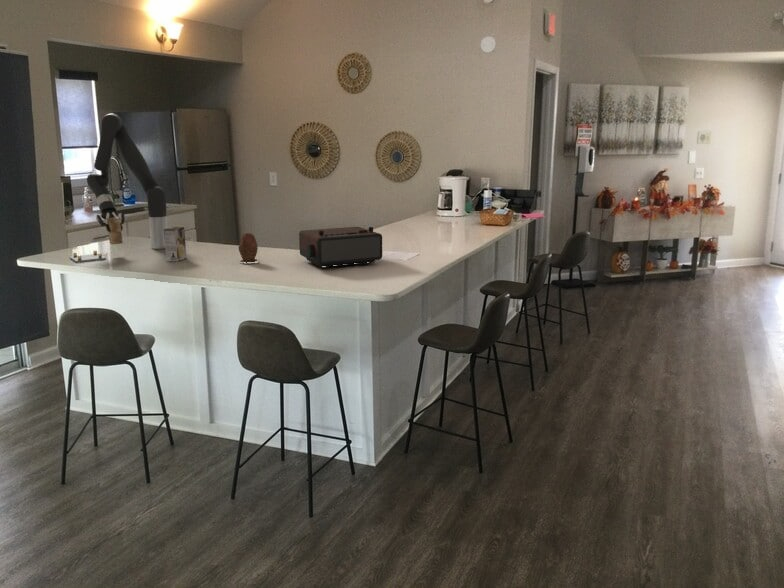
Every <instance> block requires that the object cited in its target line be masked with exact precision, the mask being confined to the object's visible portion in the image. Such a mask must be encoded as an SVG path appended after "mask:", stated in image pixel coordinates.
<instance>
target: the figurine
mask: <svg viewBox="0 0 784 588" xmlns="http://www.w3.org/2000/svg"><path fill="white" fill-rule="evenodd" d="M240 238H241V239H240V241H241V243H239V245H238V252H239V254H240V257H241V260H240V262H246V263H247V262H255V261H257V260H258V259H256V256H257V254H258V249H259V248H258V243H257V239H256V237H255V235H254V234H253V233H251V232H245V233H243V234H242V236H241V237H240ZM240 262H239V263H240Z"/></svg>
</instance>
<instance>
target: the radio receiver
mask: <svg viewBox="0 0 784 588" xmlns="http://www.w3.org/2000/svg"><path fill="white" fill-rule="evenodd" d="M298 239H299V241H298V242H299V254H300V256H301V257H303V258H305V259H306V261H308V260H309V261H308V262H310V261H311V262H310V263H312V262H313V263H312V264H314V265H316V264H317V265H316V266H318V265H319V266H318V267H320V266H321V267H320V268H322V266H333V265H343V264H354V263H364V264H366V263H367V262H373V263H374V262H375V261H378V260H382V258H383V235H382V234H381V233H379V232H377V231H374V227H373V226H368V229H367V228H363V227H360V226H350V227H349V226H347V227H335V228H322V229H321V228H319V229H309V230H308V229H307V230H300V231H299V232H298ZM354 265H355V264H354ZM333 267H334V266H333Z"/></svg>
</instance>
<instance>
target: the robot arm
mask: <svg viewBox="0 0 784 588" xmlns="http://www.w3.org/2000/svg"><path fill="white" fill-rule="evenodd" d="M100 130H101V132H100V139H99V143H98V147H97V152H96V156H95V160H94V165H93V167H94V169H96V170H97V171H100V174H98V173H89V174H88V175H87V178H86V183H87V186H88V187H89V188H90V190H91V191H92V193H94V195H95V198H96V201H97V206H98V208H99V212H100V214H96V222H97V221H98V223H99V225H100V226H101V227H105V229H106V231H107V232H108V233H109V232H110V231H111V230H110V227H109V224H108V221H107V218H112V217H118V218H120V226H121V232H122V231H123V228H124V226H123V225H124V224H125V213H124V212H121V213H120V212H118V211H117V208H116V205H115V203H114V200H113V198H112V196H111V193H110V190H109V188H108V186H109V183H110V178H109V177H110V176H109V167H110V164H111V160H112V154H113V153H112V151H113V145H114V140H115V141H116V143H117V145H118V148H119V152H120V154H121V156H122V158H123V160H124V163H125V164H126V166H127V167H128V169H129V170H130V172H131V173H132V174H133V175H134V177H135V178H136V179H137V180H138V182H139V183H140V185H141V187H142V188H143V191H144V193H145V195H146V198H147V199H146V200H147V207H148V208H147V211H148V212H147V213H148V222H149V233H150V234H149V236H150V247H151V249H154V250H155V249H156V250H159V249H160V250H162V249H165V238H164V229H167V228H169V227H168V218H167V199H166V197H167V196H166V193H165V191H164V189H163V188H162V187H161V186H160V185H159V183H158V182H157V181H156V180H155V178H154V177H153V174H152V172H151V170H150V168H149V166H148V163H147V162H146V159H145V157H144V156H143V154H142V153H141V151H140V149H139V148H138V146H137V145H136V144H135V142H134V141H133V139H132V137H131V136H130V134H129V132H128V131H127V128H126V127H125V124H124V122H123V119H122V118H121V117H120V116H119V114H116V113H107V114H105V115H103V117H102V119H101V128H100ZM104 220H105V222H104Z"/></svg>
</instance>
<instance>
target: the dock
mask: <svg viewBox="0 0 784 588" xmlns="http://www.w3.org/2000/svg"><path fill="white" fill-rule="evenodd" d="M72 254H73V255H71V256H69V259H70V260H71V259H72V260H71V261H73V262H74V261H75V262H74V263H76V264H78V262H80V263H87V261H89V262H96V260H98V261H105V260H104V259H106V260H107V257H106V256H104V255H103V254H102V253H101V252H100V253H98V252H97V250H93V253H91V254H82V255H77V254H78V253H77V252H73V253H72Z"/></svg>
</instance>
